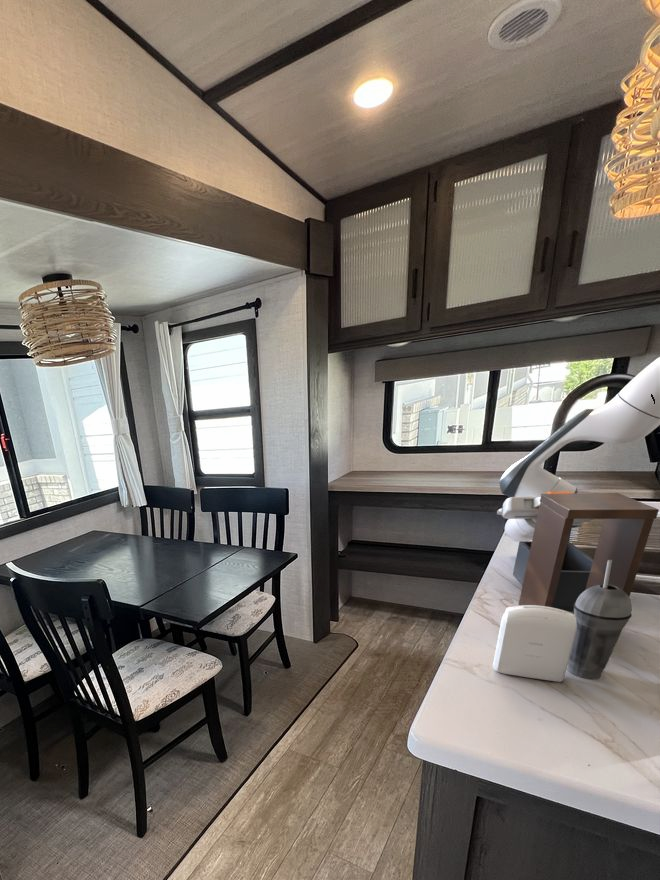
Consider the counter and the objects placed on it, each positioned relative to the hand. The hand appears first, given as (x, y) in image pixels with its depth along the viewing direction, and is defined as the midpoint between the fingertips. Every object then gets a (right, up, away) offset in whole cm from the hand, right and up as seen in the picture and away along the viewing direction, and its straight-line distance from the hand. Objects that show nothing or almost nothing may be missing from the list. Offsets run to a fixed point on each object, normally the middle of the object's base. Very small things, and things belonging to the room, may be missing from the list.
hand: (566, 497), depth 104 cm
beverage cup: (-16, -35, -25) cm, 46 cm away
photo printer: (-25, -36, -24) cm, 50 cm away
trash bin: (0, -21, +5) cm, 21 cm away
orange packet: (-1, -3, -3) cm, 4 cm away
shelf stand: (-12, -30, -13) cm, 35 cm away
